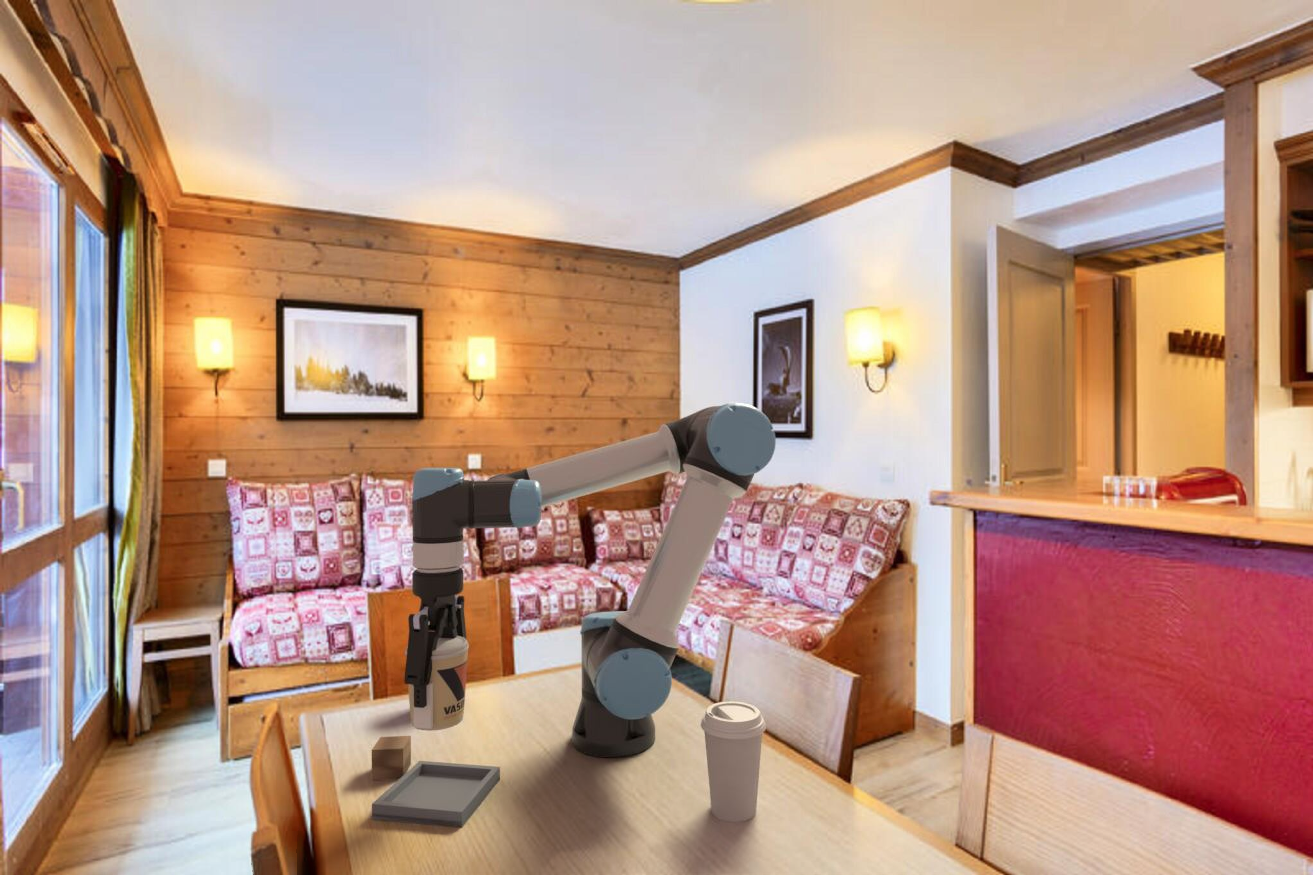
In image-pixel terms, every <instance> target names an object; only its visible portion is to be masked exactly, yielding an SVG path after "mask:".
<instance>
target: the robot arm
mask: <svg viewBox="0 0 1313 875" xmlns="http://www.w3.org/2000/svg"><path fill="white" fill-rule="evenodd" d="M776 442H777V441H776V433H775V430H774V427H773V425H772V422H771V420H770V419H769V418H768V416H767V414H765V413H763V411H762V410H760V409H758V408H757V407H755V406H753V405H750V404H748V403H747V404H746V403H740V402H729V403H726V404H725V403H724V404H722V405H713V406H709V407H705V408H702V409H700V410H698V411H696V412H693V413H692V414H689V415H687V416H684V417H682V418H678V419H677V420H673V421H670V422H667V423H663V424H661V425H660V427H659V428H658V430H657V431H655V432H652V433H648V434H645V435H641V436H637V437H634V438H633V437H632V438H630V439H627V440H623V441H620V442H616V443H612V444H608V445H605V446H602V447H598V448H595V449H591V450H587V451H583V452H580V453H576V454H573V455H570V456H566V457H563V458H559V459H555V460H552V461H547V462H545V463H541V464H538V465H534V466H530V467H526V468H524V469H520V470H516V471H512V472H509V473H505V474H504V473H503V474H502V473H501V474H496V475H493V476H491V477H489V479H487V480H470V479H465V476H464V471H463V469H461V468H458V467H425V468H420V469H418V470H416V472H415V473H414V474H413V482H412V495H411V496H412V497H411V513H412V514H411V515H412V516H411V518H412V519H411V520H412V527H411V528H412V529H411V530H412V546H411V548H410V549H411V552H412V567H413V568H414V571H413V572H412V573H411V574H412V575H411V577H412V578H411V579H412V583H411V584H412V586H411V588H412V590H411V591H412V595H414V596H415V597H418V598H419V599H420V606H419V609H418V610H419V611H418V612H417V613H410V614H409V615H408V630H409V631H408V638H407V639H408V641H407V645H408V648H407V647H406V648H407V656H406V660H405V669H404V670H405V671H404V679H403V680H404V682H403V683H404V684H405V685H408V684H411V685H413V686H414V727H413V729H416V728H427V729H431V728H432V727H433V683H430V677H431V672H432V659H431V657H432V656H433V655H432V652H433V651H435V650H436V647H437V642H438V639H439V638H456V637H457V636H460V637H463V638H465V639H466V640H467V630H466V628H467V627H466V620H465V619H466V618H465V600H466V599H465V596H464V595H460V594H461V593H462V592H463V591H464V570H463V568H462V567H461V566H462V565H463V564H464V563H465V562H464V558H465V557H464V556H465V555H464V553H465V552H464V529H471V530H472V529H490V528H491V529H493V528H495V529H503V528H505V529H506V528H511V529H512V528H516V529H521V528H528V527H529V528H530V527H536V526H538V525H539V524H540V522H541V519H542V508H546V507H549V506H553V505H556V504H559V503H563V502H567V501H569V500H573V499H577V498H580V497H584V496H586V495H587V496H588V495H591V494H594V493H598V492H600V491H605V490H608V489H611V488H615V487H619V486H621V485H625V484H629V483H633V482H635V481H640V480H643V479H646V478H649V477H653V476H656V475H660V474H662V473H663V474H664V473H667V472H671V473H672V474H673V475H679V474H682V473H685V477H686V479H685V481H684V483H683V485H682V488H681V489H680V493H679V495H678V497H677V500H676V501H675V504H674V506H673V509H672V511H671V513H670V515H669V518H668V520H667V521H666V524H665V526H664V529H663V530H662V533H661V536H660V537H659V540H658V542H657V543H656V544H657V545H656V546H655V549H654V552H653V554H652V556H651V559H650V560H649V562H648V565H647V567H646V569H645V572H644V573H643V576H642V578H641V580H640V582H639V585H638V587H637V590H636V591H635V594H634V596H633V599H632V600H631V602H630V605H629V607H628V609H627V610H626V611H624V610H623V611H622V610H617V611H616V610H615V611H613V610H612V611H601V612H600V611H599V612H595V613H594V612H593V613H589V614H587V615H585V616H584V617H583V618H582V619H581V620H582V621H581V630H580V631H579V632H580V635H581V699H580V701H579V702H580V703H579V705H578V709H577V712H576V716H575V719H574V722H573V724H572V725H573V726H572V730H571V741H572V745H573V746H574V748H575V749H576V750H578V751H579V752H582V753H583V754H587V755H589V756H594V757H602V758H620V757H629V756H632V755H637V754H640V753H642V752H644V751H646V750H649V748H651V747H652V746H653V745H654V743H655V742H656V725H655V724H656V723H655V722H654V721H655V720H654V718H653V714H655V713H656V712H657V711H658V710H660V709H661V707H662V706H663V705H664V704H665V703H666V701H667V700H668V698H669V697H670V696H669V695H670V693H671V690H672V685H673V684H672V683H673V682H672V680H673V679H672V677H673V676H672V671H671V667H672V664H673V662H674V659H675V657H676V655H677V653H678V650H679V648H680V646H681V645H680V642H679V639H678V636H677V629H678V627H679V625H680V622H681V620H682V618H683V615H684V614H685V611H686V609H687V606H688V604H689V602H690V600H691V597H692V595H693V593H694V591H695V588H696V586H697V584H698V581H699V579H700V576H701V574H702V572H703V570H704V568H705V564H706V563H707V561H708V558H709V556H710V554H711V552H712V549H713V547H714V545H715V542H716V540H717V538H718V535H719V533H720V530H721V529H722V526H723V524H724V522H725V520H726V517H727V514H728V512H729V511H730V508H731V506H732V504H733V501H734V500H735V499H736V498H739V497H741V496H743V495H746V494H747V491H748V490H749V488H750V486H751V484H752V481H753V478H754V476H755V474H757V473H759V472H761V471H762V470H763V469H765V467H767V465H768V464H769V463H770V462H771V460H772V458H773V456H774V453H775V450H776V444H777V443H776ZM467 641H468V640H467Z"/></svg>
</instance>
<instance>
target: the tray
mask: <svg viewBox="0 0 1313 875" xmlns="http://www.w3.org/2000/svg"><path fill="white" fill-rule="evenodd" d="M500 781H501V767H500V766H491V765H481V764H480V765H479V764H467V763H465V764H464V763H456V762H455V763H453V762H443V761H442V762H439V761H428V760H427V761H425V760H419V761H418V762H417V763H415V764H414V765H413V766H412V767H411V768H409V769H408V771H407V773H406V774H404V775H403V776H402V777H401V778H400V779H397V781H395V782H394V783H393V784H392V785H391V786H390V787H389V788H388V789H387V790H385V791H384V793H382V794H380V795H379V796H378V797H377V799H375V801H373V802H372V804H371V819H372V820H379V821H387V822H388V821H392V822H401V823H412V824H421V825H422V824H423V825H432V826H443V827H444V826H445V827H454V828H463V827H464V825H466V824H467V822H468V820H470V818H471V817H472V816H473V814H474V813H475V812H476V810H478V808H479V807H480V806H481V804H482V803H483V802H484V801H485V799H486V798H487V797H488V795H490V793H491V792H492V791H493V789H494V788H495V787H496V785H497V784H498V783H499V782H500Z"/></svg>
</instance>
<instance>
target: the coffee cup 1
mask: <svg viewBox="0 0 1313 875" xmlns="http://www.w3.org/2000/svg"><path fill="white" fill-rule="evenodd" d="M407 648H408V644H407V645H406V648H405V652H404V653H405V656H406V657H407ZM469 649H470V646H469V643H468V640H466V639H465V638H463V637H460V636H457V637H456V638H439V639H438V642H437V647H436V650H435V651H433V652H432V655H433V656H432V657H431V659H432V672H431V677H430V683H433V727H432V728H431V729H427V728H415V729H417V730H420V731H433V732H434V731H441V730H446V729H449V728H453V727H455V726H457V725H459V724H460V723H461V722H462V721H463V719H464V716H465V715H464V714H465V703H466V702H465V701H466V700H465V699H466V688H467V686H466V685H467V671H468V653H469V651H468V650H469ZM407 686H408V688H407V689H408V702H409V703H408V704H409V714H410V723H411V727H413V728H414V686H413V685H411V684H407Z"/></svg>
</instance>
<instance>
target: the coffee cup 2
mask: <svg viewBox="0 0 1313 875" xmlns="http://www.w3.org/2000/svg"><path fill="white" fill-rule="evenodd" d="M765 721H766V720H764V717H763V716H762V714H761V711H760V710H759V708H757V707H756V706H755V705H753V704H750V703H747V702H742V701H741V702H740V701H731V700H729V701H720V702H715V703H713V704H711V705H709V706H708V707H707V708H706V710H705V713H704V714H703V716H702V718H701V722H700V728H701V729H702V730H703V732H704V740H705V742H704V743H705V750H706V762H707V774H708V775H707V776H708V785H709V797H710V807H711V808H710V809H711V813H712V815H713V816H715V817H716V818H717V819H719V820H721V821H725V822H730V823H741V822H746V821H749V820H751V819H752V818H754V817H755V816H756V813H757V807H758V806H757V804H758V792H759V779H760V768H761V765H760V763H761V753H762V741H763V733H764V732H765V731H766V728H767V726H766V722H765Z"/></svg>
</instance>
